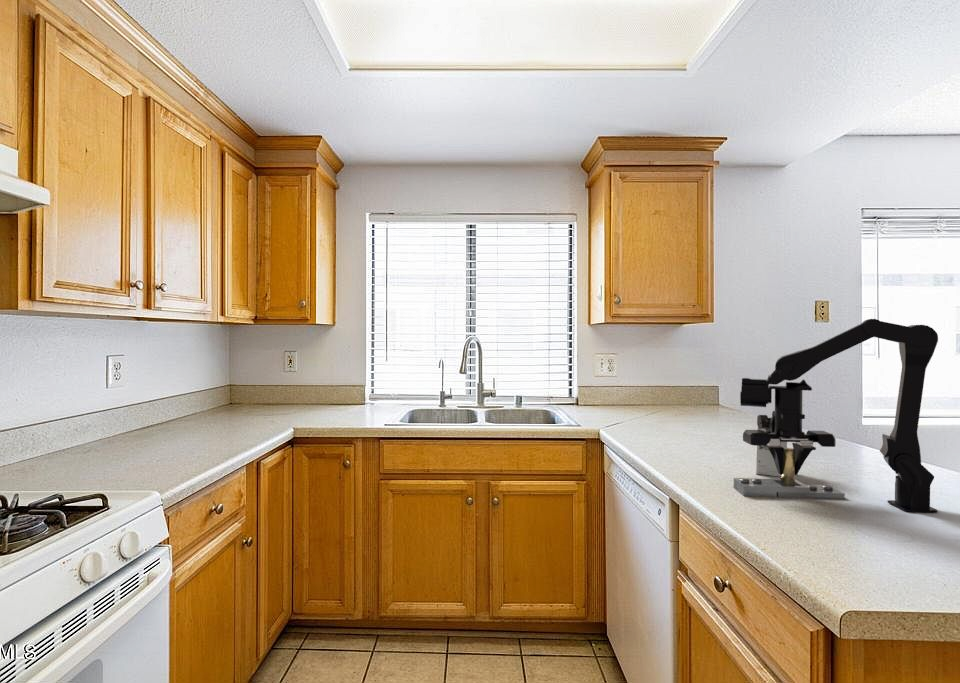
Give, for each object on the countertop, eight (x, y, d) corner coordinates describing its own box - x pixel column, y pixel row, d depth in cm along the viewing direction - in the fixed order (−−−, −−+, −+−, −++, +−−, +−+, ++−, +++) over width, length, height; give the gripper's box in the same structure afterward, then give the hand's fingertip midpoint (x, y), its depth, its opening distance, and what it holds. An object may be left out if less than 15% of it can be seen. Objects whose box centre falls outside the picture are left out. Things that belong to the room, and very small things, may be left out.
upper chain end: (809, 497, 129) (810, 484, 129) (744, 496, 131) (744, 483, 131) (795, 489, 136) (796, 476, 136) (733, 487, 138) (733, 475, 138)
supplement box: (755, 474, 150) (755, 427, 150) (756, 468, 157) (756, 423, 156) (787, 478, 147) (787, 429, 146) (786, 471, 153) (787, 425, 153)
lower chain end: (844, 498, 129) (844, 491, 129) (778, 497, 130) (778, 489, 130) (828, 490, 136) (828, 482, 136) (765, 488, 137) (765, 481, 137)
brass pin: (797, 484, 131) (797, 450, 131) (783, 484, 132) (784, 450, 132) (791, 481, 134) (791, 447, 134) (778, 481, 135) (778, 447, 135)
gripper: (813, 404, 140) (812, 466, 140) (735, 403, 142) (734, 465, 142) (837, 410, 129) (836, 478, 129) (752, 409, 131) (751, 476, 131)
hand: (787, 474), depth 133 cm, fingers closed on brass pin, 3 cm apart
